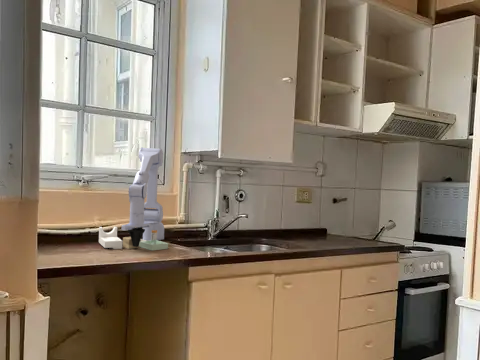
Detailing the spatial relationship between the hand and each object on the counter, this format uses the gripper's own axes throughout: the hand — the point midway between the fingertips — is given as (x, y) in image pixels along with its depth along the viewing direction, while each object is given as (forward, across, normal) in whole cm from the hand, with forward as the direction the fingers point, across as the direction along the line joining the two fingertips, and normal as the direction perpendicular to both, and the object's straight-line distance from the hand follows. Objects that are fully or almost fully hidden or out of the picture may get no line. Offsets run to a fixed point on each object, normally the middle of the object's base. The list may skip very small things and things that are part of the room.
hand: (135, 246), depth 189 cm
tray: (+1, -8, +3) cm, 8 cm away
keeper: (+1, -8, -6) cm, 10 cm away
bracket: (+2, +3, -12) cm, 12 cm away
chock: (+1, -1, -4) cm, 5 cm away
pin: (+1, -8, +3) cm, 8 cm away
